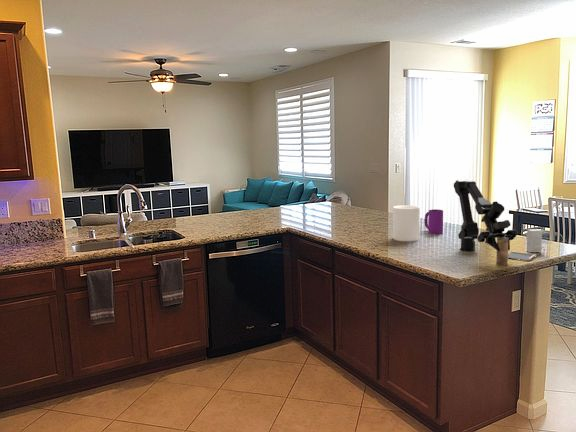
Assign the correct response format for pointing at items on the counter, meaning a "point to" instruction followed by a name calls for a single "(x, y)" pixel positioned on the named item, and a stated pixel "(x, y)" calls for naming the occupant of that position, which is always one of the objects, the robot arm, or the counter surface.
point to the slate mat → (521, 255)
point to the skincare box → (534, 240)
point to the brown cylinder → (502, 251)
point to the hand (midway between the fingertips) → (504, 250)
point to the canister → (406, 223)
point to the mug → (434, 221)
